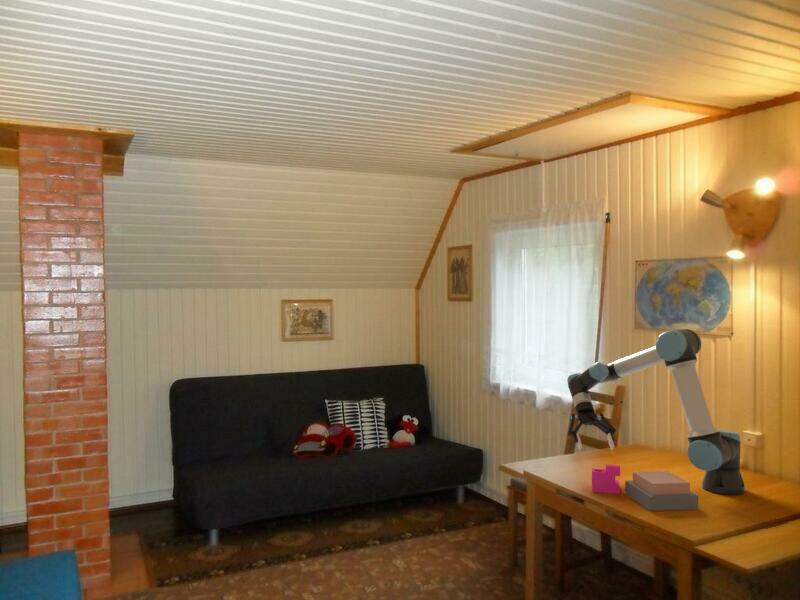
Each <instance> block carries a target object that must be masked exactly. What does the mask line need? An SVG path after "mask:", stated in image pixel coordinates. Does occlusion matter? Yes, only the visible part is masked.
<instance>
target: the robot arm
mask: <svg viewBox="0 0 800 600" xmlns="http://www.w3.org/2000/svg"><path fill="white" fill-rule="evenodd" d="M700 337H701V336H700V335H699V334H698V333H697V332H695V331H694V330H691V329H687V328H681V329H670V330H667V331H664V332H662V333H661V334H659V336H658V337H657V340H656V341H655V346H651V347H650V348H647V349H644V350H642V351H639V352H637V353H634V354H631V355H629V356H625V357H623V358H620V359H618V360H615V361H612V362H610V363H607V364H604V363H603V362H600V361H597V362H595V363H593V364H591V365H590V366H589V367H588V368H587V369H586V370H584V371H582V373H580V372H574V373H573V374H570V375H569V376H568V377H567V380H566V382H567V387H568V389H569V391H570V396H571V399H572V402H573V405H574V406H573V407H574V409H575V414H574V413H571V416H570V423H569V427H568V431H567V435H568V436H571V438H572V439H573V443H574V444H576V446H577V450H578V451H579V452H581V451H582V449H583V445H582V440H581V438H580V434H579V433H578V432H579V431H580V429H581V428H582V426H594V427H596V428H598V429H599V430H600V431H601V432H603V433H604V434H605V435H606V439H607V443H608V445H609V448H610V451H613V450H614V448H615V443H614V441H615V438H614V435H615V434H616V432H617V429H616V428H615V427H614V426H613V425H612V424H611V423H610V422H609V421H608V420H607V419H606V417H605V415H604V414H603V413H601V412H600V414H596V412H595V408H594V405H593V402H592V398H591V395H590V393H589V391H590V390H592V389H593V388H594V387H595V386H597V385H599V384H602V383H607V382H616V381H618V380H619V379H621V378H624V377H627V376H630V375H633V374H635V373H637V372H641V371H643V370H646V369H649V368H652V367H655V366H658V365H661V364H665V367H666V368H667V369H669V370H670V371H671V372H672V373H671V374H672V377H673V379H674V380H673V381H674V382H675V386H676V389H677V392H678V396H679V400H680V402H681V406H682V409H683V413H684V417H685V419H686V422H687V426H688V430H689V433H688V434H687V436H686V438H687V440H688V443H689V445H688V447H687V458H688V460H689V461H690V464H691V465H693V466H694V467H695V468H697V469H698V470H701V471H705V473H704V476H703V479H702V481H701V487H702V488H703V489H704V490H705V491H707V492H712V493H714V494H720V495H721V494H722V495H730V496H733V495H736V496H737V495H743V494H744V493H745V492H746V485H745V482H744V479H743V476H742V474H741V444H742V441H741V435H740V434H739V433H738V432H735V431H729V430H722V429H718V428H716V427H715V426H714V424H713V421H712V417H711V414H710V410H709V408H708V404H707V400H706V398H705V394H704V392H703V388H702V385H701V382H700V379H699V375H698V372H697V368H696V366H695V365H696V363H697V362H698V358H697V354H698V353H700V351H701V349H702V339H701V338H700ZM576 420H578V421H579V423H578V424H577V426H576V427H575V429H574V424H575V421H576ZM573 429H574V430H573Z"/></svg>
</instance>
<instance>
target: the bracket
mask: <svg viewBox="0 0 800 600" xmlns="http://www.w3.org/2000/svg"><path fill="white" fill-rule="evenodd" d="M616 477H621V465H616V464H605V468H604V469H603V468H591V492H596V493H597V492H598V493H608V494H621V486H620V480H619V479H616Z"/></svg>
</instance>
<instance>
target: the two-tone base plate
mask: <svg viewBox="0 0 800 600" xmlns="http://www.w3.org/2000/svg"><path fill="white" fill-rule="evenodd" d="M624 484H625V485H624V488H625V489H624V491H625V492H624V494H625V495H626V496H628V497H629V498H630V499H632V500H633V501H635V502H636V503H638V504H640V505H641V506H642V507H644V508H645V509H646V510H648V511H650V512H656V511H658V512H660V511H685V510H686V511H687V510H688V511H690V510H691V511H693V510H699V495H698V494H697V493H695V492H693V491H691V482H689V481H688V480H685V479H684V478H682V477H681V476H679V475H676V474H675V473H673V472H671V471H669V470H651V471H650V470H647V471H645V470H643V471H642V470H641V471H632V480H625V482H624Z"/></svg>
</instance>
